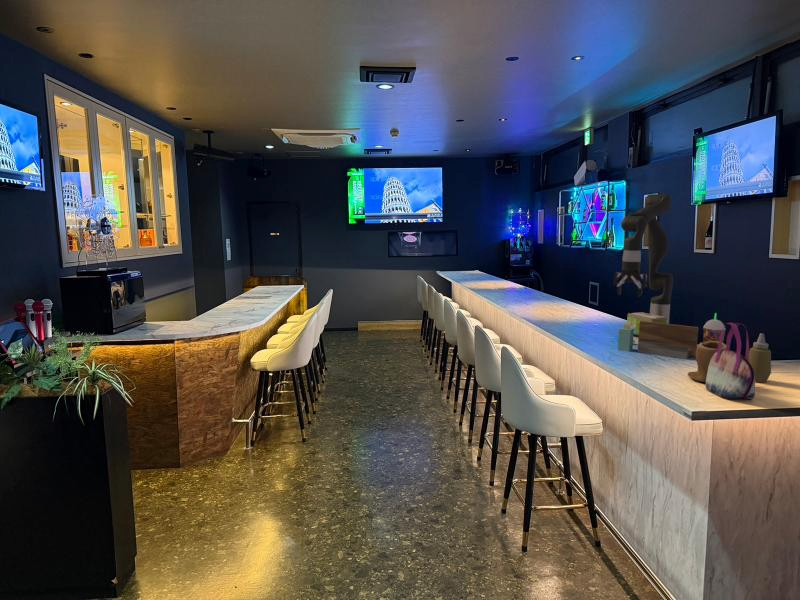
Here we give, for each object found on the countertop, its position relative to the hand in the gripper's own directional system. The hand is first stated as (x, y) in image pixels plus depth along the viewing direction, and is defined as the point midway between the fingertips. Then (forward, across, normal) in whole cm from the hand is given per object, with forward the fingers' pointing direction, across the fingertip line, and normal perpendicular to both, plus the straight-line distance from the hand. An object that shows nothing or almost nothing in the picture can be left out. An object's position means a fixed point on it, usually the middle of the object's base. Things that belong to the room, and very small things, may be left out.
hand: (629, 295), depth 241 cm
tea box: (+26, -4, -18) cm, 32 cm away
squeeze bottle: (+26, -53, +20) cm, 62 cm away
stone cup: (+26, -40, +32) cm, 57 cm away
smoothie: (+26, -34, -8) cm, 43 cm away
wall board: (+25, -16, -3) cm, 30 cm away
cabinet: (+26, 0, 0) cm, 26 cm away
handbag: (+26, -47, +46) cm, 71 cm away
